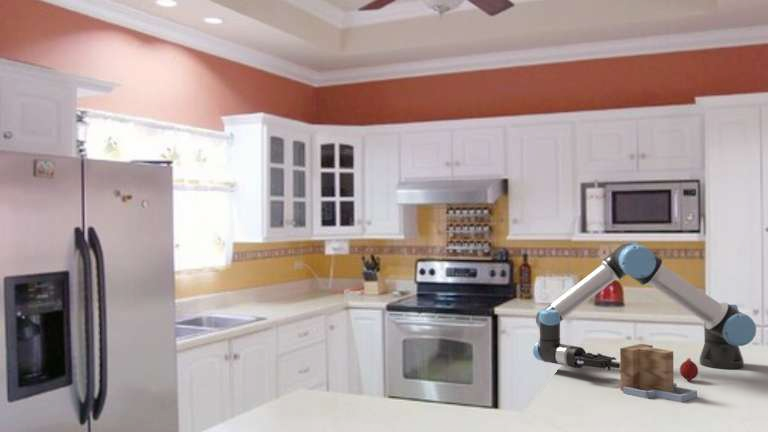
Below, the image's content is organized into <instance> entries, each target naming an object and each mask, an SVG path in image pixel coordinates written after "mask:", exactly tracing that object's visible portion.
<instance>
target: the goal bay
mask: <svg viewBox="0 0 768 432" xmlns="http://www.w3.org/2000/svg"><path fill="white" fill-rule="evenodd" d="M676 393H677V394H676ZM622 394H624V395H625V394H626V395H629V396H635V397H638V396H639V398H643V397H644V398H643V399H647V398H648V399H647V400H649V399H651V398H659V399H664V398H665V399H664V400H668V399H669V401H673V400H674V402H678V401H679V402H678V403H684V402H687V401H690V400H692V399H696V398H698V390H696V389H695V390H694V389H691V388H685V387H680V386H678V385H677V383H676V382H674V393H669V392H664V391H660V390H655V389H653V390H650V391H643V390H639V389H634V388H629V387H623V391H622Z"/></svg>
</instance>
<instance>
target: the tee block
mask: <svg viewBox="0 0 768 432" xmlns="http://www.w3.org/2000/svg"><path fill="white" fill-rule="evenodd" d="M619 350H620V354H619V355H620V356H619V357H620V359H619V361H620V362H621V370H620V391H622V392H623V387H629V388H634V389H639V390H643V391H650V390H653V389H655V390H660V391H664V392H669V393H674V383H675V381H674V378H675V377H674V376H675V375H674V350H667V349H661V348H655V347H653V345H650V344H645V343H638V344H633V345H629V346H626V347H620V348H619ZM674 394H675V393H674Z"/></svg>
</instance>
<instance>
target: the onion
mask: <svg viewBox="0 0 768 432" xmlns="http://www.w3.org/2000/svg"><path fill="white" fill-rule="evenodd" d="M679 372H680V374H681V376H682V378H684V379H685V380H686V381H688V382H690V381H692V380H693V379H695V378H696V377H697V376H698V373H699V368H698V365H697V364H696V363H695V362H694V361H692V360H691V358H690V357H687V359H686V360H685V361H684V362H683V363H681V365H680V368H679Z"/></svg>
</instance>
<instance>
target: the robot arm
mask: <svg viewBox="0 0 768 432" xmlns="http://www.w3.org/2000/svg"><path fill="white" fill-rule="evenodd" d="M626 276H628V277H631V279H633V280H635V281H636V282H637V283H639V284H640V285H642V286H647V285H649V286H651V288H654V290H655V289H656V290H657V291H658V292H659V293H662V295H664V296H665V297H667V298H669V299H670V300H671V301H673V302H674V303H676V304H678V305H679V306H680V307H682V308H683V309H685V310H686V311H688V312H689V313H691V314H692V315H693V316H695V317H696V318H698V319H700V320H701V321H703V323H704V326H703V327H704V328H703V331H704V332H703V333H704V344H703V347H702V350H701V352H700V356H699V365H702V366H704V367H708V368H713V369H714V368H716V369H722V370H723V369H724V370H726V369H728V370H729V369H741V368H743V367H744V366H745V365H744V364H745V363H744V362H745V361H744V357H743V355H742V352H741V350H740V347H743V346H745V345H749V344H750V343H751V342H752V341H753V340H754V338H755V337H756V333H757V325H756V323H755V321H754V320H753V319H752V317H750V316H749V315H748V314H745V313H743V312H741V311H739V307H738V305H736V304H728V303H727V302H718V301H717V300H715V299H714V298H712V297H711V296H709V295H708V294H706V293H705V292H703V291H702V290H701V289H699V288H697V287H696V286H694V285H693V284H691V283H690V282H689V281H687V280H686V279H684V278H682V277H681V276H680V275H678V274H677V273H675V272H674V271H672V270H670V269H669V268H668V267H666V266H665V265H664V261H663V259H662V258H661V257H659V256H657V255H656V254H654V252H653V251H651V249H649V248H648V247H647V246H645V245H642V244H635V243H624V244H621V245H620V246H618V247H617V248H616V249H614V250H613V251H612V252H611V253H609V255H608V256H607V257H605V258H603V260H602V261H601V264H600V265H599V266H598V267H597V268H595V269H594V270H593V271H592V272H590V273H589V274H587V275H586V276H585V277H584V278H583V279H582V280H580V281H579V282H577V283H576V284H575V285H574V286H572V287H571V288H570V289H568V290H567V291H566V292H565V293H563V294H561V296H559V297H558V298H557V299H555V300H554V301H553V302H552V303H551V304H549V305H548V306H547V307H545V308H543V309H541V310H539V311H537V313H536V314H535V324H536V325H537V327H538V328H539V340H537V341H536V342H534V344H533V346H534V347H533V349H532V354H533V356H534V358H535V359H536V360H538V361H542V362H544V363H550V364H555V365H561V366H563V367H564V368H566V367H571V368H575V369H581V368H583V367H592V368H598V369H606V368H607V371H611V370H612V369H614V370H619V371H621V362H620V359H619V360H617V358H616V357H614V356H613V357H612V356H610V355H609V356H607V355H604V354H601V353H596V354H594V353H592V352H586V350H585V349H584V348H583V347H581V346H575V345H570V344H563V343H561V322H562V321H564V319H566V318H567V317H568V316H570V315H571V314H572V313H574V312H575V311H576V310H577V309H579V308H580V307H581V306H583V305H584V304H585V303H587V302H588V301H590V299H592V298H594V296H596V295H597V294H598V293H600V292H601V291H602V290H604V289H605V288H606V287H608V286H610V284H612V283H613V282H614V281H620V280H621V279H622V278H624V277H626Z"/></svg>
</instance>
